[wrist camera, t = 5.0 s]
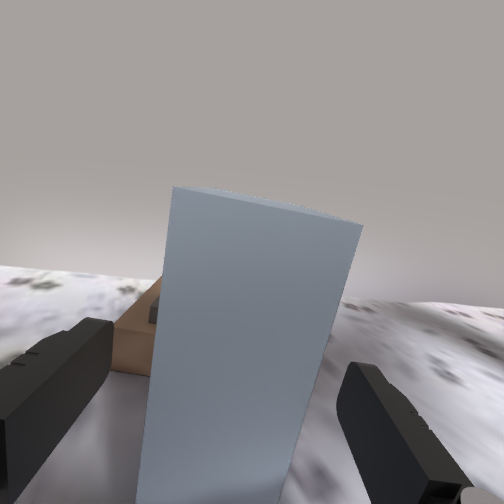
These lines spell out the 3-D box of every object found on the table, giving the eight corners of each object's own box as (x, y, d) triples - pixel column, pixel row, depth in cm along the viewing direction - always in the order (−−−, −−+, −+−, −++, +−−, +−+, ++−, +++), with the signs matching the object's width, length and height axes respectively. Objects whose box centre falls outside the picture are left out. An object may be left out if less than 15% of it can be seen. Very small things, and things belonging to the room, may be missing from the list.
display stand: (276, 310, 28) (285, 275, 27) (297, 399, 16) (313, 342, 15) (168, 291, 27) (173, 254, 26) (107, 369, 15) (112, 308, 14)
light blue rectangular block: (250, 420, 14) (302, 206, 11) (251, 587, 8) (363, 225, 5) (177, 409, 14) (212, 187, 11) (124, 573, 8) (168, 186, 5)
